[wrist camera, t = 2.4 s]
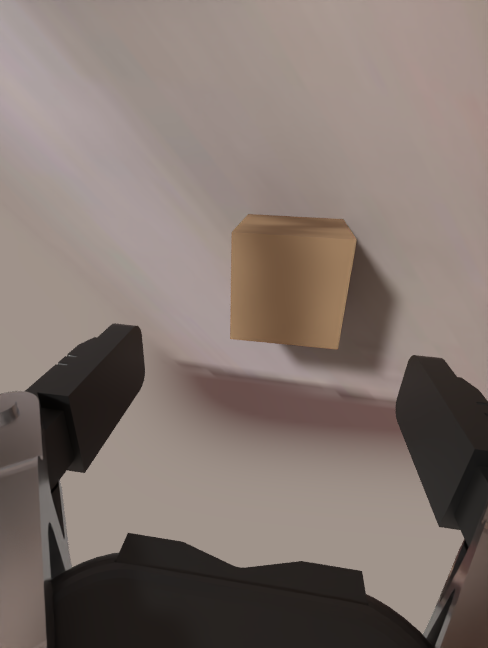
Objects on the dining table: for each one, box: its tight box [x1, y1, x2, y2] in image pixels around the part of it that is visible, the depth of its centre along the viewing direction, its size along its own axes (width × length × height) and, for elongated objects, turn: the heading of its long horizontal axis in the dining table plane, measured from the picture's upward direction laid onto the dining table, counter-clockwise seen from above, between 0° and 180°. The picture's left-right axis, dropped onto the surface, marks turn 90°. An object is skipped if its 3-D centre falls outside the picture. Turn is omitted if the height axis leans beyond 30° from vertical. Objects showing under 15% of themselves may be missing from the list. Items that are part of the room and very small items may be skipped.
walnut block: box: [230, 214, 357, 349], centre depth 19 cm, size 6×6×6 cm
